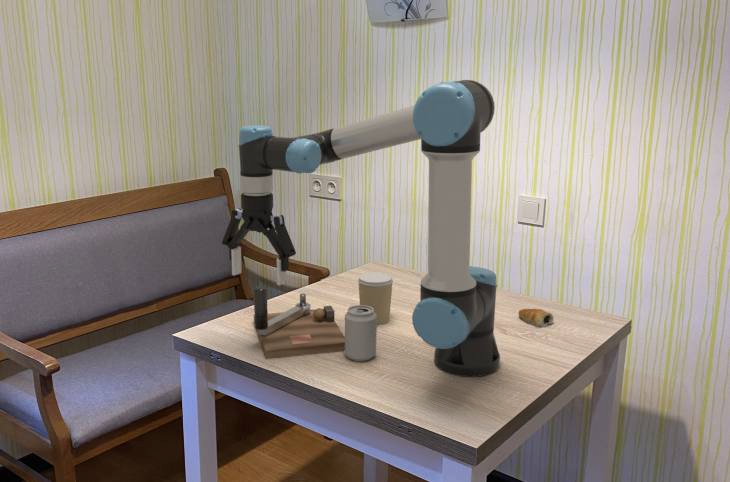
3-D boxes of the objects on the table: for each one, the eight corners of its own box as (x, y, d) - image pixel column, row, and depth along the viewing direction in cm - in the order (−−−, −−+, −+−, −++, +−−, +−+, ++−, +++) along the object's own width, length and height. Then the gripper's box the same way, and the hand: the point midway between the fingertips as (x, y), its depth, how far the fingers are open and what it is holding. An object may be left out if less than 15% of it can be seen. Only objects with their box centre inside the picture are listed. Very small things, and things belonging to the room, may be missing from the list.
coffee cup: (393, 313, 197) (394, 272, 193) (391, 326, 188) (391, 283, 184) (359, 312, 197) (359, 271, 194) (356, 324, 188) (356, 281, 185)
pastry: (512, 319, 194) (513, 306, 193) (528, 313, 198) (529, 300, 197) (540, 329, 187) (541, 315, 186) (556, 323, 191) (557, 310, 190)
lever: (301, 308, 193) (300, 266, 190) (313, 311, 191) (312, 268, 188) (251, 335, 175) (249, 289, 172) (264, 338, 173) (262, 292, 170)
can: (381, 353, 171) (382, 306, 168) (365, 365, 164) (366, 316, 161) (355, 347, 174) (355, 301, 171) (338, 358, 168) (338, 310, 165)
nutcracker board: (348, 350, 173) (348, 330, 171) (265, 358, 168) (265, 338, 166) (327, 315, 195) (326, 297, 194) (253, 322, 190) (253, 303, 188)
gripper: (310, 196, 163) (310, 283, 169) (226, 184, 175) (228, 266, 181) (291, 201, 157) (292, 292, 163) (205, 189, 169) (208, 273, 175)
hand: (258, 278), depth 172 cm, fingers open, 13 cm apart
